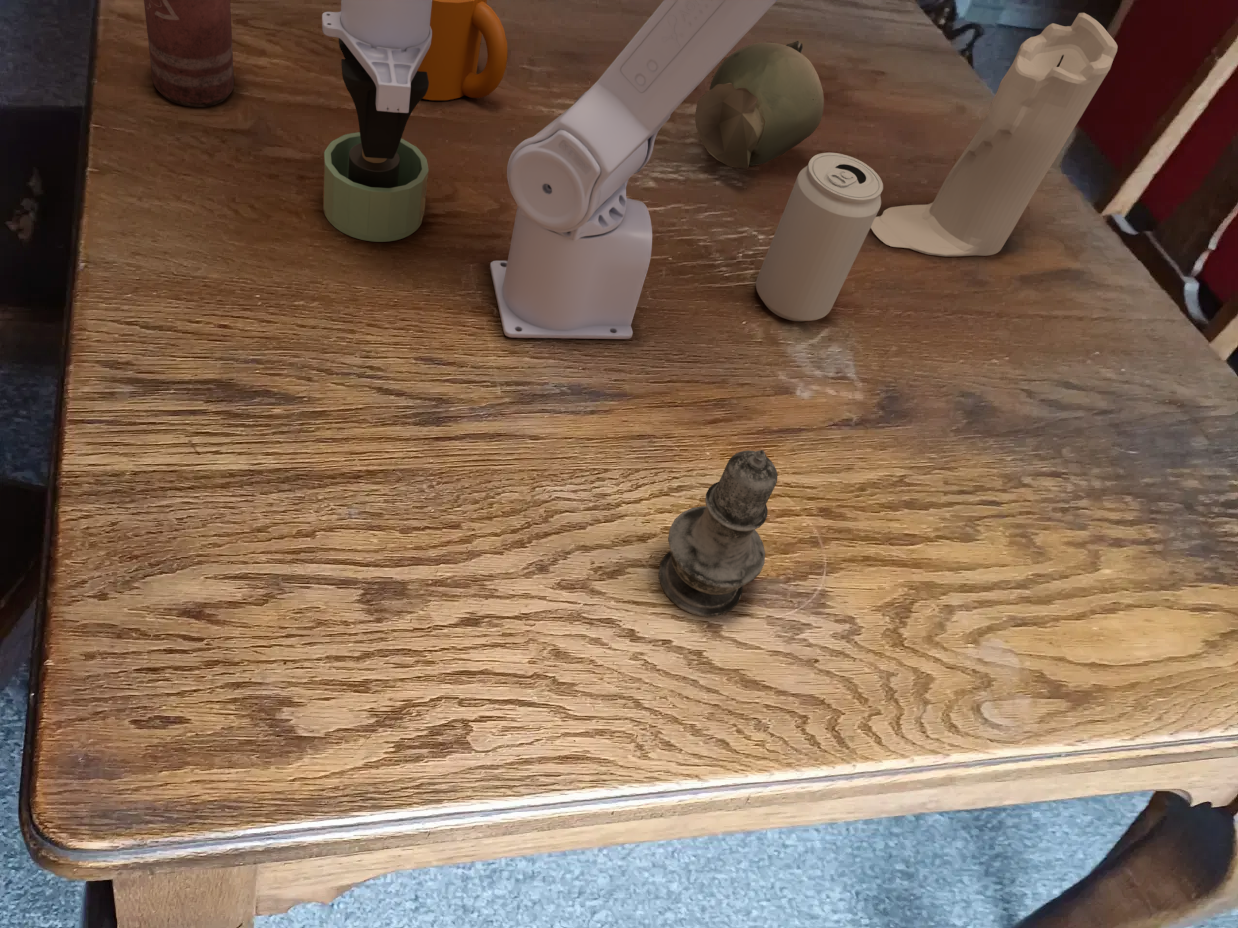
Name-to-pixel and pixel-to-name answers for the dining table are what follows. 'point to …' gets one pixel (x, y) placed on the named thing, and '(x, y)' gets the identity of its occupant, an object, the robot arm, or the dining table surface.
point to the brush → (373, 169)
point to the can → (191, 50)
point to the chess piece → (720, 539)
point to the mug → (463, 50)
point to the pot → (374, 194)
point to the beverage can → (819, 236)
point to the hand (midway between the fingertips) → (377, 145)
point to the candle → (1009, 145)
